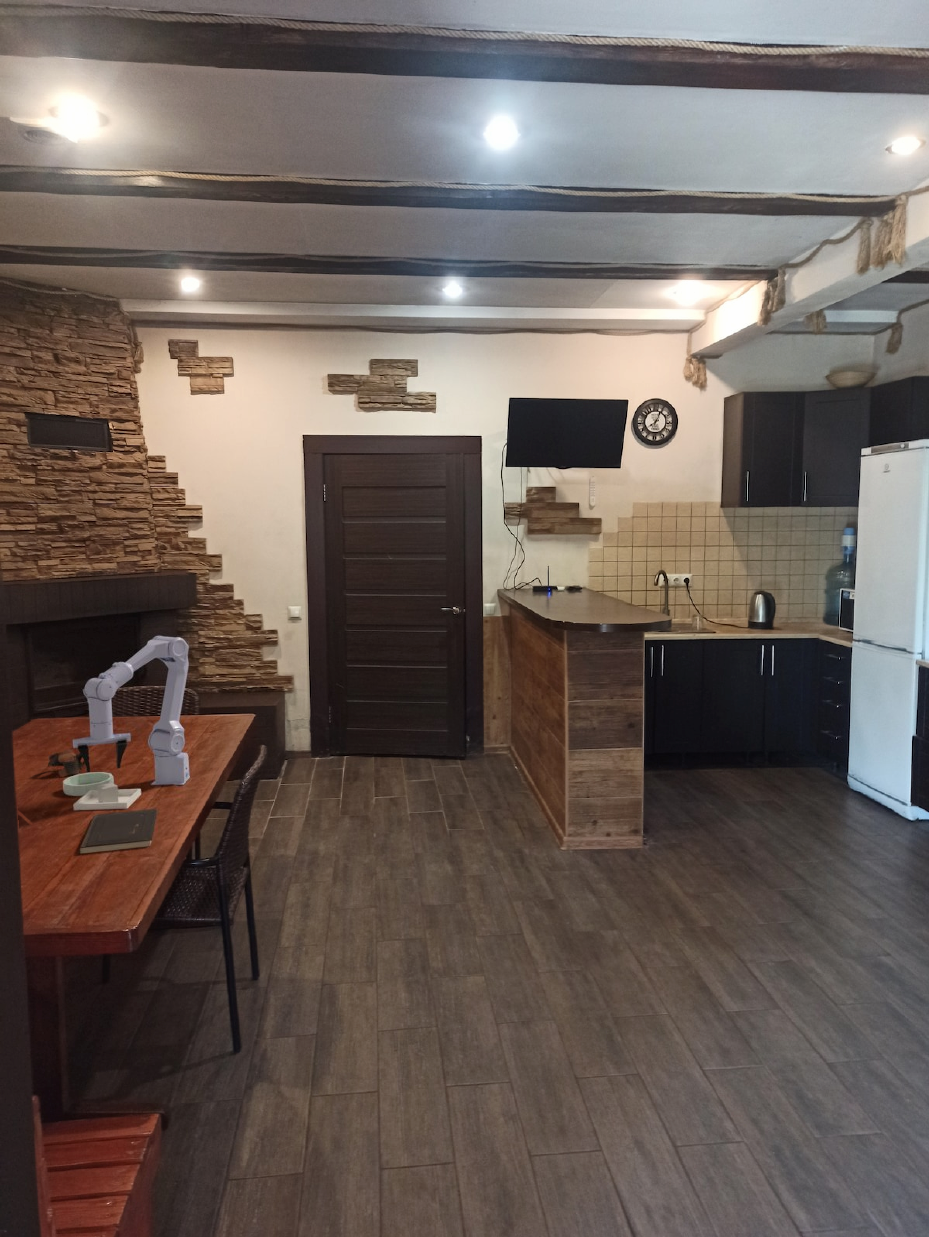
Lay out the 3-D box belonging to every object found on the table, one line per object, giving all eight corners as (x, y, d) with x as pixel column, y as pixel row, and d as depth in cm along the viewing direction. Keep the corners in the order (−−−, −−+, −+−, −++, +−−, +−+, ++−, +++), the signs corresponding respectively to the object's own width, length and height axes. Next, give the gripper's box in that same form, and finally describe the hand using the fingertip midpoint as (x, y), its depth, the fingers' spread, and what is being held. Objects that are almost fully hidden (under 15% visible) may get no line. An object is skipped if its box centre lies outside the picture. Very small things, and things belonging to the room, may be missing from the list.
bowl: (119, 782, 244) (118, 771, 243) (103, 796, 231) (103, 784, 231) (74, 784, 243) (74, 772, 242) (56, 798, 230) (55, 786, 230)
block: (118, 802, 225) (117, 785, 224) (103, 805, 222) (102, 789, 221) (113, 798, 228) (112, 782, 227) (98, 801, 225) (97, 785, 224)
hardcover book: (158, 816, 216) (158, 808, 216) (152, 848, 194) (151, 839, 194) (93, 823, 212) (92, 814, 211) (79, 856, 190) (78, 846, 189)
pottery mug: (50, 781, 248) (42, 756, 250) (56, 786, 257) (49, 761, 259) (91, 766, 252) (83, 742, 254) (96, 772, 261) (89, 748, 263)
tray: (141, 796, 231) (140, 788, 231) (127, 810, 219) (126, 802, 219) (90, 797, 230) (90, 790, 230) (73, 812, 218) (73, 804, 218)
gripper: (127, 715, 231) (129, 762, 232) (71, 721, 224) (73, 769, 225) (130, 720, 225) (133, 768, 226) (72, 726, 218) (75, 776, 219)
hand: (103, 769), depth 225 cm, fingers open, 7 cm apart
